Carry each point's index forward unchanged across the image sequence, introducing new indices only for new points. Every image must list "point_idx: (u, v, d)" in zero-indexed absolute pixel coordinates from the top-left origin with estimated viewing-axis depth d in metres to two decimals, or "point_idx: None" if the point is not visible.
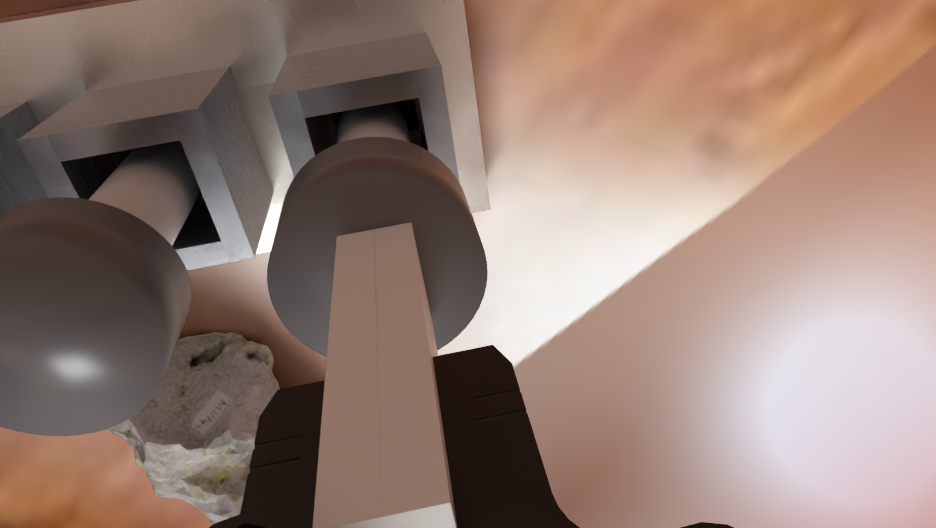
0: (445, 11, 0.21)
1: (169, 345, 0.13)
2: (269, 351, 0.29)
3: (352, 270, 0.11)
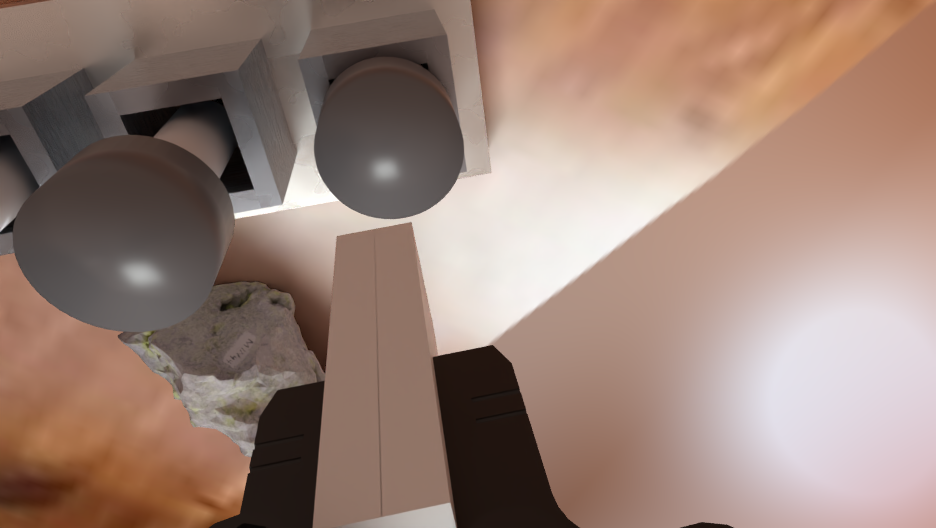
0: None
1: (219, 257, 0.16)
2: (291, 298, 0.32)
3: (352, 269, 0.11)
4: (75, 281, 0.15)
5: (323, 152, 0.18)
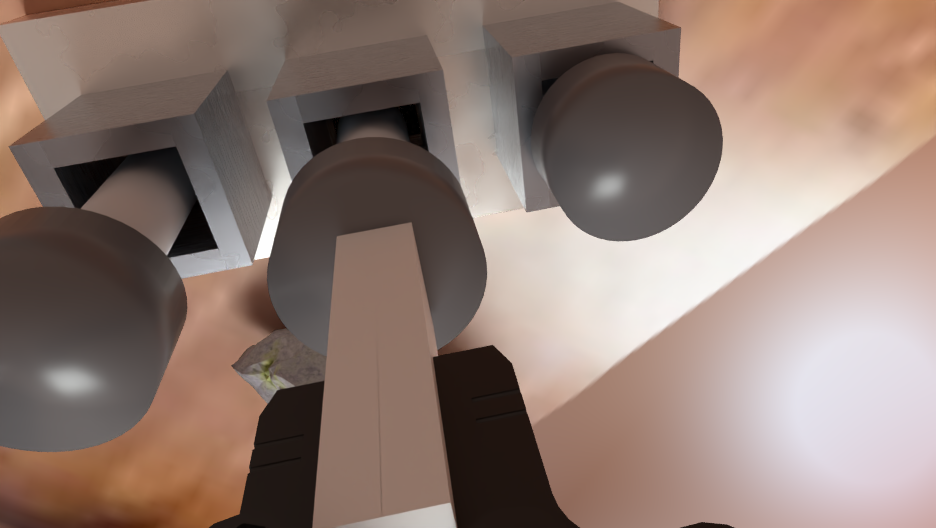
0: None
1: None
2: None
3: (352, 269, 0.11)
4: (326, 309, 0.13)
5: (565, 165, 0.16)
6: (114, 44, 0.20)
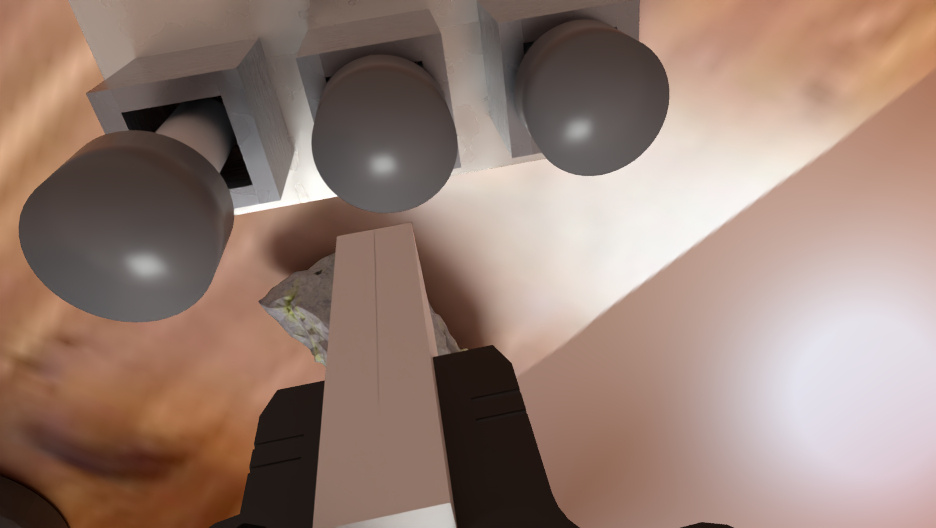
0: None
1: None
2: None
3: (352, 269, 0.11)
4: (349, 167, 0.19)
5: (539, 108, 0.19)
6: (165, 14, 0.24)
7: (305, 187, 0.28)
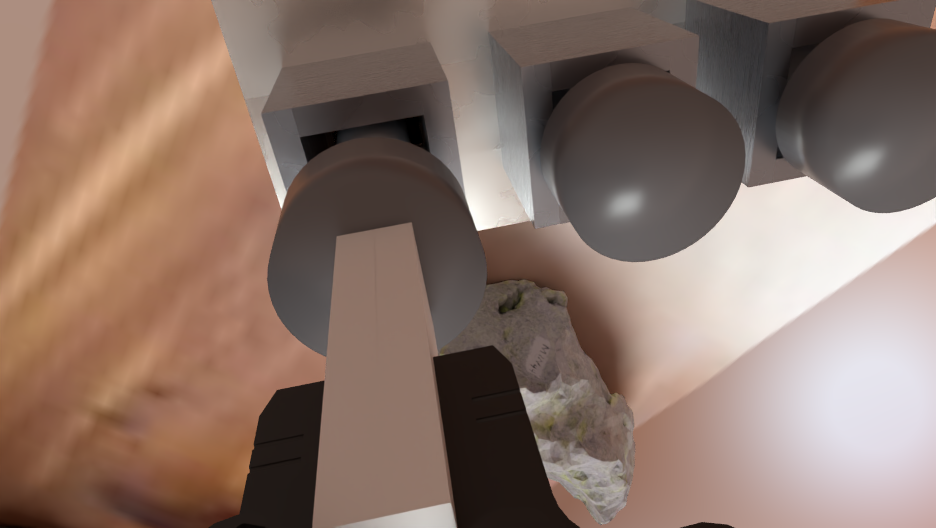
0: None
1: None
2: (566, 296, 0.28)
3: (351, 269, 0.11)
4: (607, 206, 0.15)
5: (850, 131, 0.15)
6: (323, 15, 0.19)
7: None
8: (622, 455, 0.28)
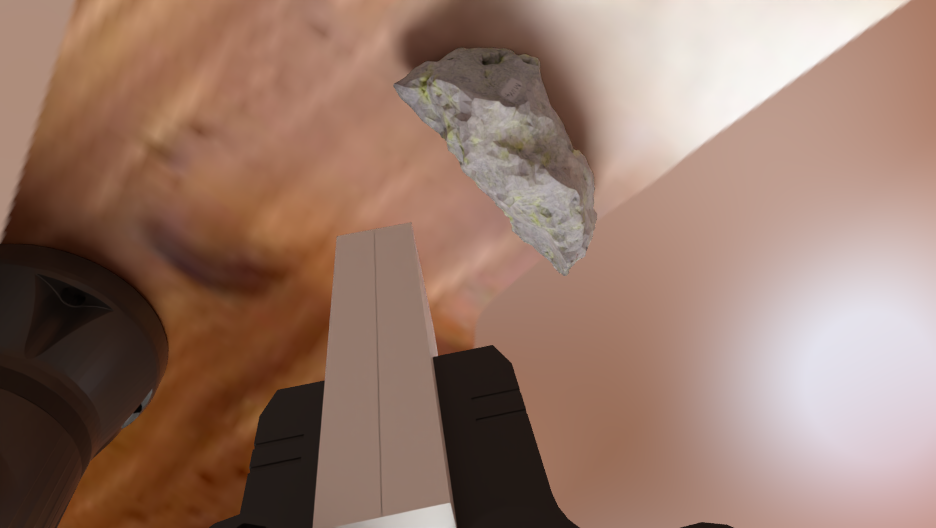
0: None
1: None
2: None
3: (352, 270, 0.11)
4: None
5: None
6: None
7: None
8: (580, 191, 0.34)
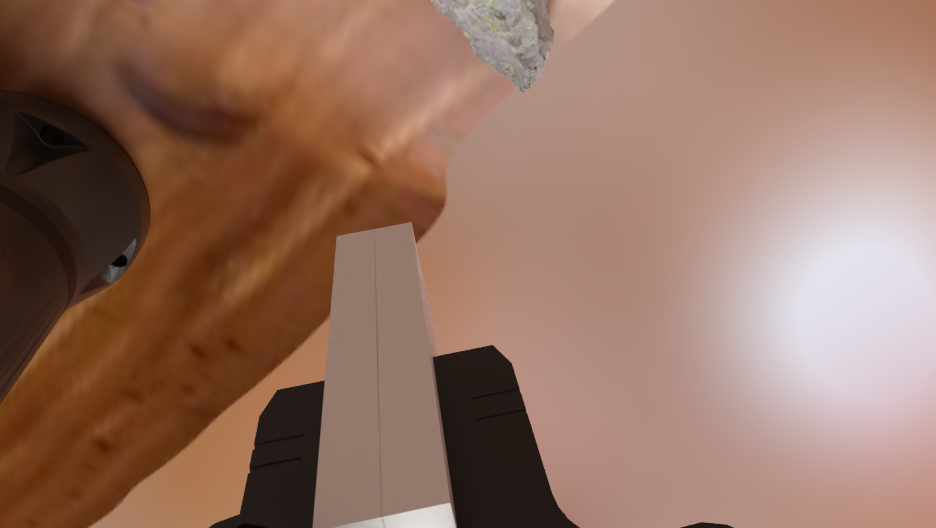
0: None
1: None
2: None
3: (351, 270, 0.11)
4: None
5: None
6: None
7: None
8: None
